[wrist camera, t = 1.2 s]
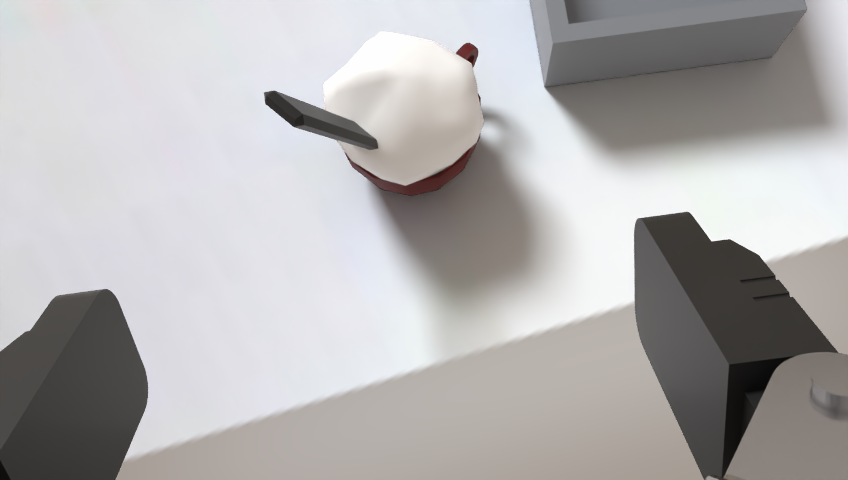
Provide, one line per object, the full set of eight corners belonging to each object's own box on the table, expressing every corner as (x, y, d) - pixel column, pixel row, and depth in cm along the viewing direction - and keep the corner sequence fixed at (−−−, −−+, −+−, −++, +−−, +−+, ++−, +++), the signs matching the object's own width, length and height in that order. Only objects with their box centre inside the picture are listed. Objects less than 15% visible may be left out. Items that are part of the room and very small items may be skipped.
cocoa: (461, 61, 38) (463, -131, 26) (526, 165, 36) (558, 7, 24) (283, 146, 37) (205, -15, 25) (340, 259, 35) (283, 138, 23)
